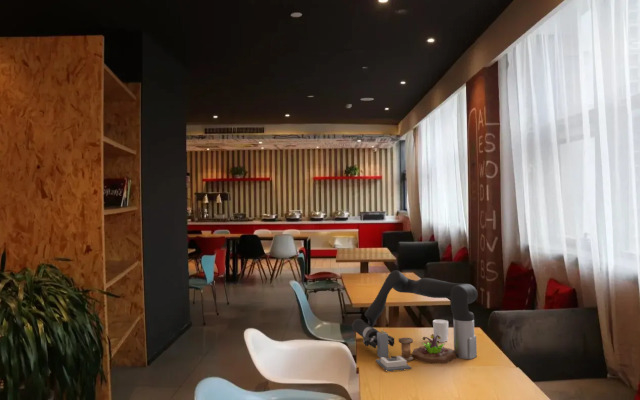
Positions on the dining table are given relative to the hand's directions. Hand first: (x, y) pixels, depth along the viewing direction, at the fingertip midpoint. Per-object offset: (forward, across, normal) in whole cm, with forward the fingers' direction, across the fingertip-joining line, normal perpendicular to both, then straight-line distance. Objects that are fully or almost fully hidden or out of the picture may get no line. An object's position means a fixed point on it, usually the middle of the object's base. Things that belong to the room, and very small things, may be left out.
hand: (384, 345), depth 221 cm
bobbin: (+3, +8, +6) cm, 10 cm away
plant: (+4, +23, +7) cm, 24 cm away
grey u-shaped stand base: (+11, 0, +6) cm, 12 cm away
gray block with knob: (-2, 0, +6) cm, 6 cm away
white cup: (-18, +38, +6) cm, 43 cm away
